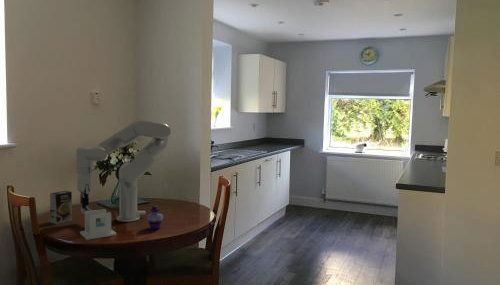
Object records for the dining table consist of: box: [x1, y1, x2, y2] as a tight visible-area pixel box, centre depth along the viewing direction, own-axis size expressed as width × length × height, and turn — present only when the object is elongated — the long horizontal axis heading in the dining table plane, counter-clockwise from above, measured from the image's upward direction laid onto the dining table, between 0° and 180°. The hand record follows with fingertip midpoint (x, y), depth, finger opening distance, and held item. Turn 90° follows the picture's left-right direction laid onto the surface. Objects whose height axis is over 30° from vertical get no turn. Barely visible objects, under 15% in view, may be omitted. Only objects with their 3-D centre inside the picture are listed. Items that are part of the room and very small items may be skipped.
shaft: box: [80, 191, 99, 222], centre depth 210 cm, size 3×22×12 cm, turn 36°
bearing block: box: [79, 208, 117, 241], centre depth 198 cm, size 14×12×11 cm
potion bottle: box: [146, 205, 164, 231], centre depth 209 cm, size 9×9×12 cm
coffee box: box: [49, 190, 73, 225], centre depth 219 cm, size 9×6×16 cm
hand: (84, 203), depth 218 cm, fingers closed on shaft, 3 cm apart
